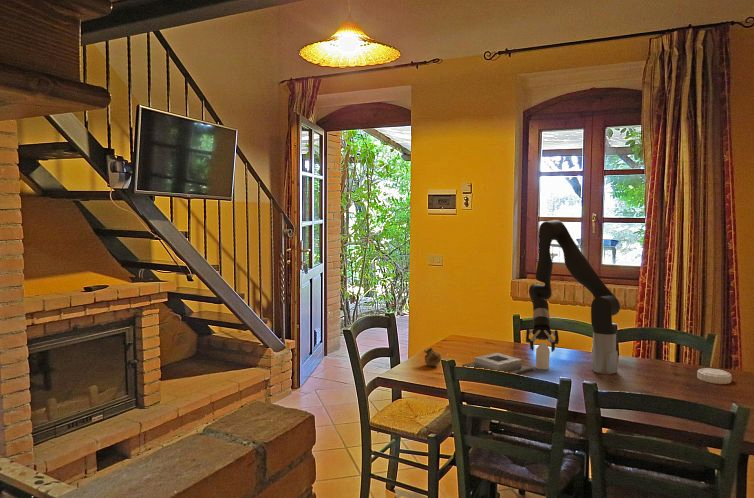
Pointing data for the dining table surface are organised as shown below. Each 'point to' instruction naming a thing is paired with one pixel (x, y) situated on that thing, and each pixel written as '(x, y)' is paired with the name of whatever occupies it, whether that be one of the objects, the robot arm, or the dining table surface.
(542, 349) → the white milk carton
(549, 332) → the robot arm
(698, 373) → the mooncake
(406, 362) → the dining table surface
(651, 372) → the dining table surface
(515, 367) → the socket
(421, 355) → the dining table surface
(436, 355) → the onion
